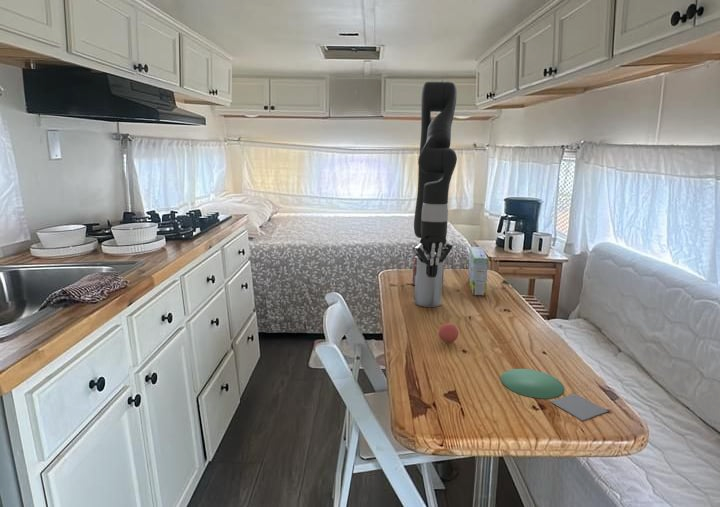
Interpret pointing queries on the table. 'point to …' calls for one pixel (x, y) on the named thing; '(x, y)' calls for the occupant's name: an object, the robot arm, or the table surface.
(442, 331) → the ball
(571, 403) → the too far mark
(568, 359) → the table surface
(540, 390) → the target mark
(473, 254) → the snack box
